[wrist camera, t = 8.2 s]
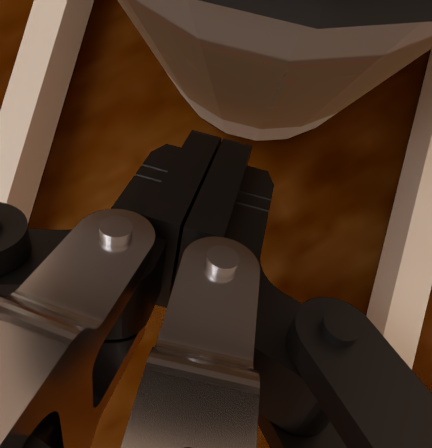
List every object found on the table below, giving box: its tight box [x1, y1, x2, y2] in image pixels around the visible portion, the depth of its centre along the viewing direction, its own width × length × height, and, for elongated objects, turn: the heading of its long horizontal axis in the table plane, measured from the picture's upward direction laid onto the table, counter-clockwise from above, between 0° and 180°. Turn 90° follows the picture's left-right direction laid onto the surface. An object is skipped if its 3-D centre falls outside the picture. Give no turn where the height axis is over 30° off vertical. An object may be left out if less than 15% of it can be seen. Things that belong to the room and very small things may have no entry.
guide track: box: [0, 0, 432, 370], centre depth 14 cm, size 16×21×6 cm
